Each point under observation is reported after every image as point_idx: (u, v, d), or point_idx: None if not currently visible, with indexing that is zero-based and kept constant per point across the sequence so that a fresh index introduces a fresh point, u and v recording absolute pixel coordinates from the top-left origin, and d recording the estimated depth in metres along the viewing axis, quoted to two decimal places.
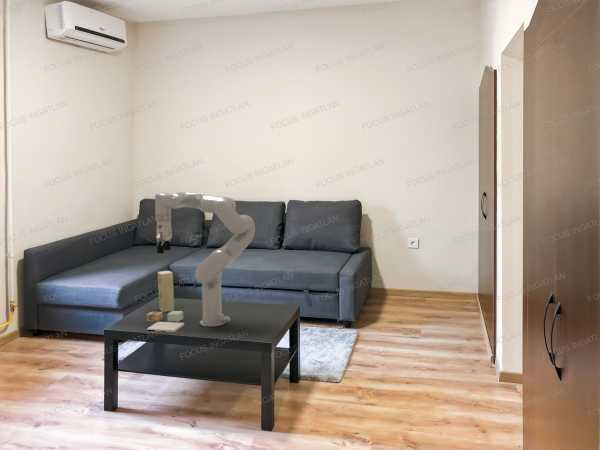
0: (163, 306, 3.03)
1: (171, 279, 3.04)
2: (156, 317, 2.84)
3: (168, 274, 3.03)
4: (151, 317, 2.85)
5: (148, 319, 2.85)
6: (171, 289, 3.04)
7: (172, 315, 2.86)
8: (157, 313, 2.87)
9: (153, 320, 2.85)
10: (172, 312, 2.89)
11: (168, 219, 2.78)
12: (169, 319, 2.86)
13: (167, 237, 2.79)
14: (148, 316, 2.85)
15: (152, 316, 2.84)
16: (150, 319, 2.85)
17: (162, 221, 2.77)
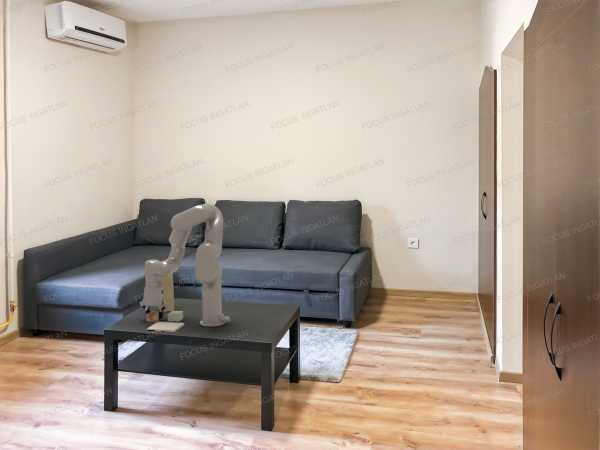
0: (163, 306, 3.03)
1: (171, 279, 3.04)
2: (156, 317, 2.84)
3: None
4: (151, 317, 2.85)
5: (148, 319, 2.85)
6: (171, 289, 3.04)
7: (172, 315, 2.86)
8: (157, 313, 2.87)
9: (153, 320, 2.85)
10: (172, 312, 2.89)
11: None
12: (169, 319, 2.86)
13: None
14: (148, 316, 2.85)
15: (152, 316, 2.84)
16: (150, 319, 2.85)
17: (161, 286, 2.86)
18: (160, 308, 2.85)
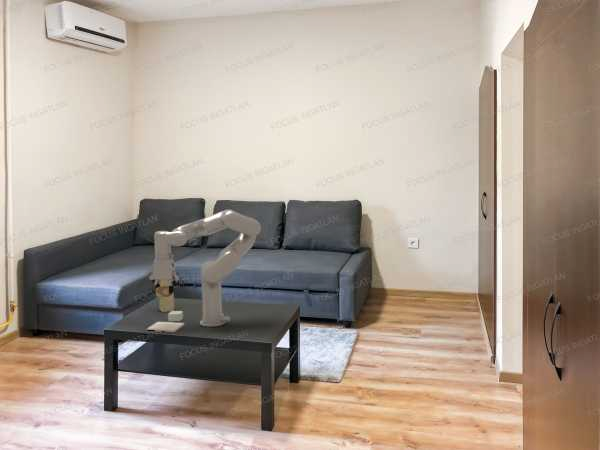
0: (163, 306, 3.03)
1: None
2: (166, 291, 2.69)
3: None
4: (160, 291, 2.70)
5: (157, 293, 2.71)
6: None
7: (173, 315, 2.85)
8: (167, 287, 2.72)
9: (163, 294, 2.70)
10: (172, 312, 2.88)
11: None
12: (169, 319, 2.86)
13: None
14: (157, 290, 2.70)
15: (161, 290, 2.70)
16: (159, 293, 2.70)
17: (171, 259, 2.71)
18: (170, 282, 2.70)
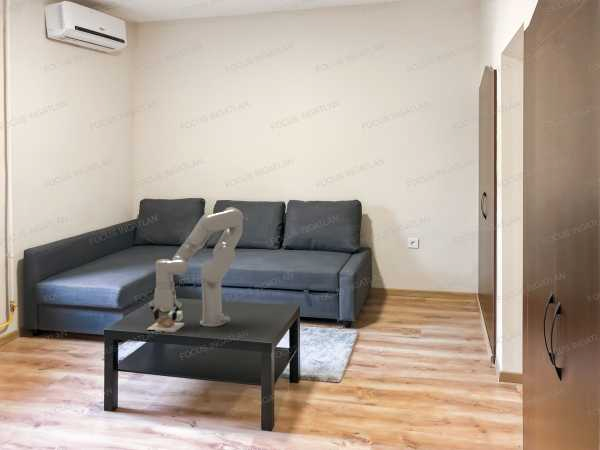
0: None
1: None
2: (167, 322, 2.71)
3: None
4: (162, 322, 2.72)
5: (159, 324, 2.72)
6: None
7: None
8: (168, 318, 2.74)
9: (164, 325, 2.72)
10: (172, 312, 2.88)
11: None
12: None
13: None
14: (159, 321, 2.72)
15: (163, 321, 2.71)
16: (161, 324, 2.72)
17: (173, 287, 2.73)
18: (173, 309, 2.72)
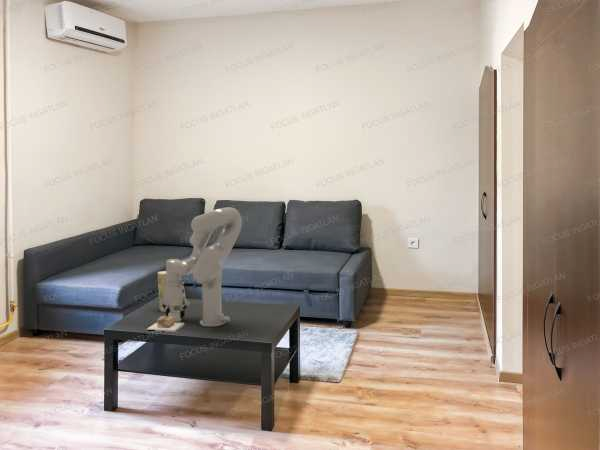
0: None
1: None
2: (167, 322, 2.71)
3: None
4: (162, 322, 2.72)
5: (159, 324, 2.72)
6: None
7: (173, 315, 2.85)
8: (168, 318, 2.74)
9: (164, 325, 2.72)
10: (172, 312, 2.88)
11: None
12: None
13: None
14: (159, 321, 2.72)
15: (163, 321, 2.71)
16: (161, 324, 2.72)
17: (182, 286, 2.87)
18: (181, 307, 2.86)
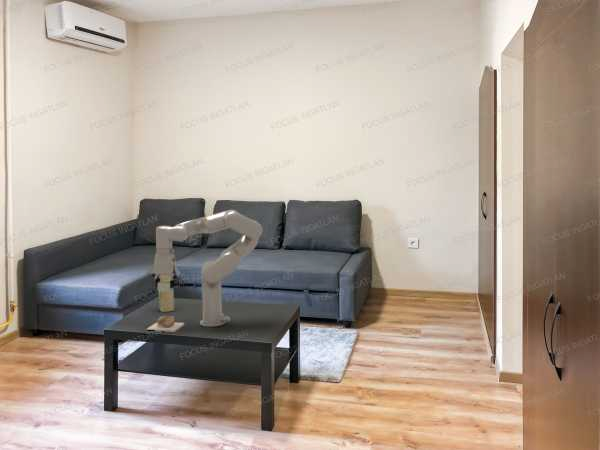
0: (163, 306, 3.03)
1: None
2: (167, 322, 2.71)
3: None
4: (162, 322, 2.72)
5: (159, 324, 2.72)
6: None
7: (163, 284, 2.71)
8: (168, 318, 2.74)
9: (164, 325, 2.72)
10: (161, 281, 2.74)
11: None
12: (159, 289, 2.72)
13: None
14: (159, 321, 2.72)
15: (163, 321, 2.71)
16: (161, 324, 2.72)
17: (172, 254, 2.73)
18: (171, 276, 2.72)
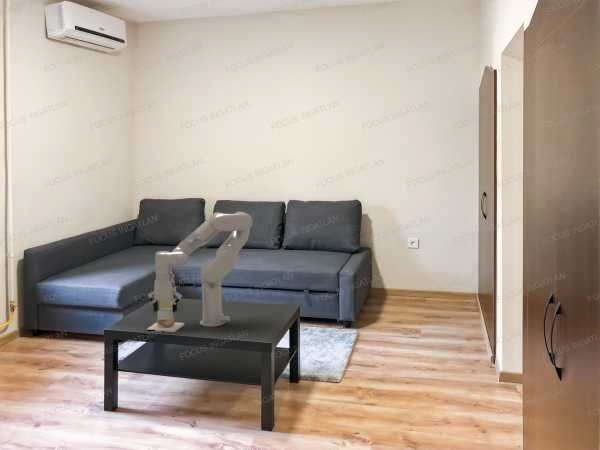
0: (163, 306, 3.03)
1: None
2: (167, 322, 2.71)
3: None
4: (162, 322, 2.72)
5: (159, 324, 2.72)
6: None
7: (162, 312, 2.71)
8: None
9: (164, 325, 2.72)
10: (161, 309, 2.74)
11: None
12: (159, 317, 2.71)
13: None
14: (159, 321, 2.72)
15: (163, 321, 2.71)
16: (161, 324, 2.72)
17: (172, 279, 2.72)
18: (173, 300, 2.71)
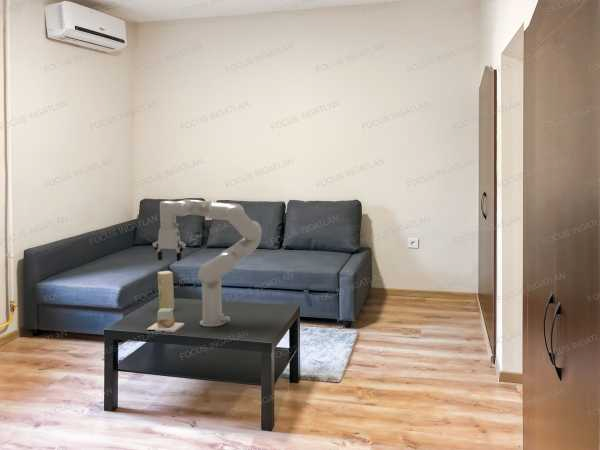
0: (163, 306, 3.03)
1: (171, 279, 3.04)
2: (167, 322, 2.71)
3: (168, 274, 3.03)
4: (162, 322, 2.72)
5: (159, 324, 2.72)
6: (171, 289, 3.04)
7: (162, 312, 2.71)
8: None
9: (164, 325, 2.72)
10: (161, 309, 2.74)
11: None
12: (159, 317, 2.71)
13: None
14: (159, 321, 2.72)
15: (163, 321, 2.71)
16: (161, 324, 2.72)
17: (176, 228, 2.76)
18: (177, 249, 2.75)
